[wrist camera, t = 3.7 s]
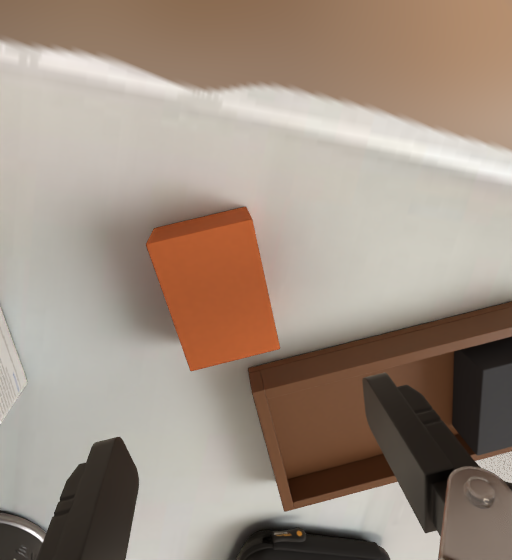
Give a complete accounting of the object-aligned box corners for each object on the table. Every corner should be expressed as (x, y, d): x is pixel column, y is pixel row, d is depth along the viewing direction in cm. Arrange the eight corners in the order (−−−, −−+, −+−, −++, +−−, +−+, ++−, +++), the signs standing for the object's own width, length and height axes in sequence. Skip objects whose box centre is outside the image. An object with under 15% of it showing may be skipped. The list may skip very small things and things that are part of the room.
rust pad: (192, 343, 24) (190, 371, 21) (153, 228, 21) (145, 244, 18) (271, 323, 24) (280, 349, 21) (246, 206, 21) (252, 218, 18)
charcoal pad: (451, 425, 29) (476, 456, 27) (453, 344, 26) (483, 370, 23) (515, 408, 29) (546, 437, 27) (525, 326, 26) (562, 350, 23)
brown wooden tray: (278, 481, 30) (284, 512, 28) (247, 367, 25) (252, 393, 23) (519, 417, 31) (545, 442, 29) (535, 295, 26) (569, 312, 24)
